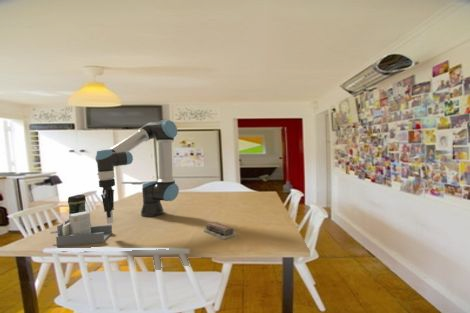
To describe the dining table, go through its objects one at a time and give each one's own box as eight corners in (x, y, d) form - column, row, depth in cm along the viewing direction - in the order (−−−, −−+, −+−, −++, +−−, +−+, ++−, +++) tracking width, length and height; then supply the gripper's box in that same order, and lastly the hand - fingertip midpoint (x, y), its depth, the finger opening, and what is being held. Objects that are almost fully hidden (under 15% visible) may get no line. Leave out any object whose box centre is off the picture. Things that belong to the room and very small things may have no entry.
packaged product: (202, 223, 142) (217, 219, 148) (203, 232, 142) (217, 228, 148) (223, 231, 128) (238, 226, 135) (223, 240, 128) (238, 235, 135)
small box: (87, 234, 140) (86, 210, 140) (91, 237, 136) (90, 212, 135) (70, 238, 134) (68, 214, 134) (74, 241, 130) (72, 216, 129)
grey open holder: (75, 235, 139) (74, 220, 139) (65, 242, 129) (64, 226, 128) (56, 236, 138) (55, 221, 137) (45, 243, 127) (44, 227, 127)
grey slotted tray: (112, 233, 144) (111, 215, 143) (103, 242, 130) (102, 223, 129) (70, 236, 140) (69, 218, 140) (56, 246, 127) (55, 226, 126)
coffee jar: (77, 227, 157) (75, 196, 156) (66, 226, 159) (64, 196, 158) (89, 222, 166) (88, 193, 165) (79, 221, 168) (77, 193, 167)
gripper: (103, 177, 141) (106, 219, 143) (94, 181, 128) (98, 227, 130) (117, 176, 142) (121, 218, 144) (110, 180, 129) (114, 226, 131)
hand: (110, 222), depth 137 cm, fingers closed
